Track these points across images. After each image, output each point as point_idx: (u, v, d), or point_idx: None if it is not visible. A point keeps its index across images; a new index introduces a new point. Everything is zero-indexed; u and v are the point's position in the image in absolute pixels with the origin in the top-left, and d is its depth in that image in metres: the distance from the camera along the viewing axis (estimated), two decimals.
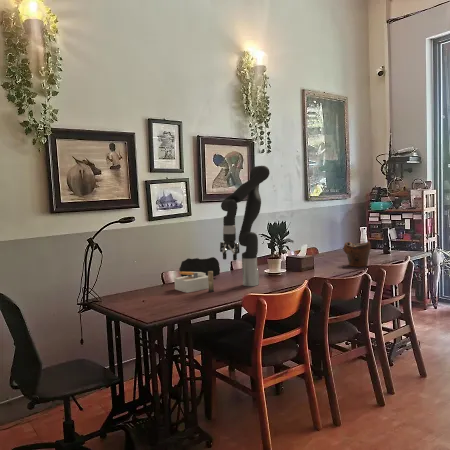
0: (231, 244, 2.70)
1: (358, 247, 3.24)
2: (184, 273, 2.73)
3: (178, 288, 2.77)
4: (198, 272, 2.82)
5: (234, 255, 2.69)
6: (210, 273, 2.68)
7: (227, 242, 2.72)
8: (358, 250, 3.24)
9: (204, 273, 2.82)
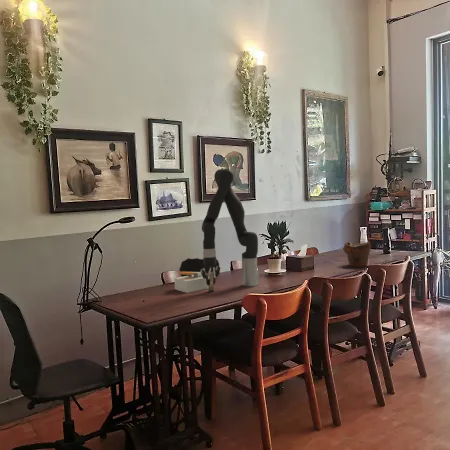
0: (215, 267, 2.70)
1: (358, 247, 3.24)
2: (184, 273, 2.73)
3: (178, 288, 2.77)
4: (198, 272, 2.82)
5: (214, 279, 2.70)
6: (210, 273, 2.68)
7: (210, 265, 2.67)
8: (358, 250, 3.24)
9: None
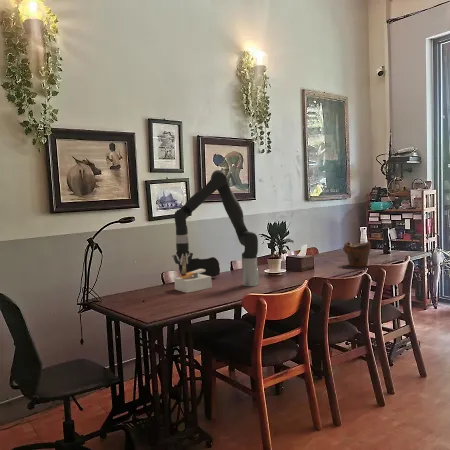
0: (187, 253, 2.76)
1: (358, 247, 3.24)
2: (184, 277, 2.73)
3: (178, 288, 2.77)
4: (198, 270, 2.82)
5: (187, 264, 2.76)
6: None
7: (182, 251, 2.73)
8: (358, 250, 3.24)
9: (204, 270, 2.81)
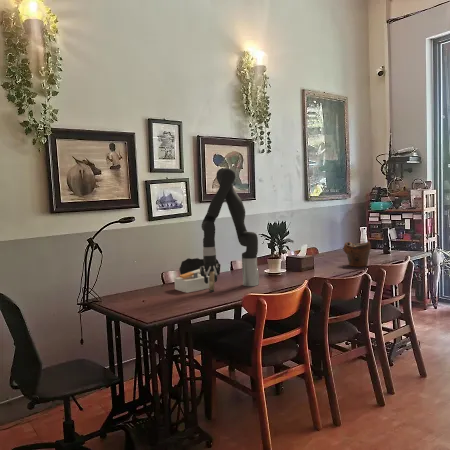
0: (215, 265, 2.70)
1: (358, 247, 3.24)
2: (184, 277, 2.73)
3: (178, 288, 2.77)
4: (198, 270, 2.82)
5: (216, 276, 2.71)
6: (212, 273, 2.66)
7: (210, 264, 2.67)
8: (358, 250, 3.24)
9: (204, 270, 2.81)
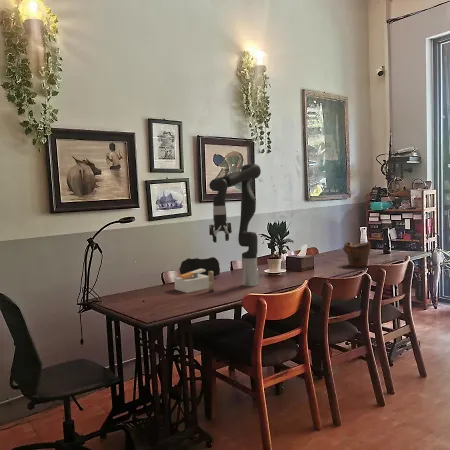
0: (225, 224, 2.63)
1: (358, 247, 3.24)
2: (184, 277, 2.73)
3: (178, 288, 2.77)
4: (198, 270, 2.82)
5: (228, 235, 2.65)
6: (210, 273, 2.67)
7: (220, 223, 2.61)
8: (358, 250, 3.24)
9: (204, 270, 2.81)
